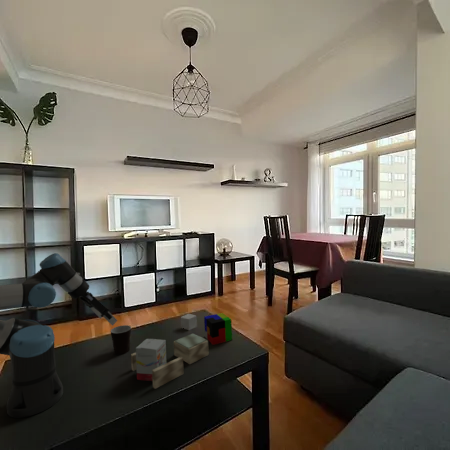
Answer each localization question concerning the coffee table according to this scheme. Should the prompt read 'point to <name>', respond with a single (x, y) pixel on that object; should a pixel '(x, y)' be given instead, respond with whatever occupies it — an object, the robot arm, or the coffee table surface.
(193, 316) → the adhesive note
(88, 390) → the coffee table surface
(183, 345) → the wooden blocks
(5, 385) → the coffee table surface
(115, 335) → the coffee mug
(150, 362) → the ink box
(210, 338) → the puzzle toy
